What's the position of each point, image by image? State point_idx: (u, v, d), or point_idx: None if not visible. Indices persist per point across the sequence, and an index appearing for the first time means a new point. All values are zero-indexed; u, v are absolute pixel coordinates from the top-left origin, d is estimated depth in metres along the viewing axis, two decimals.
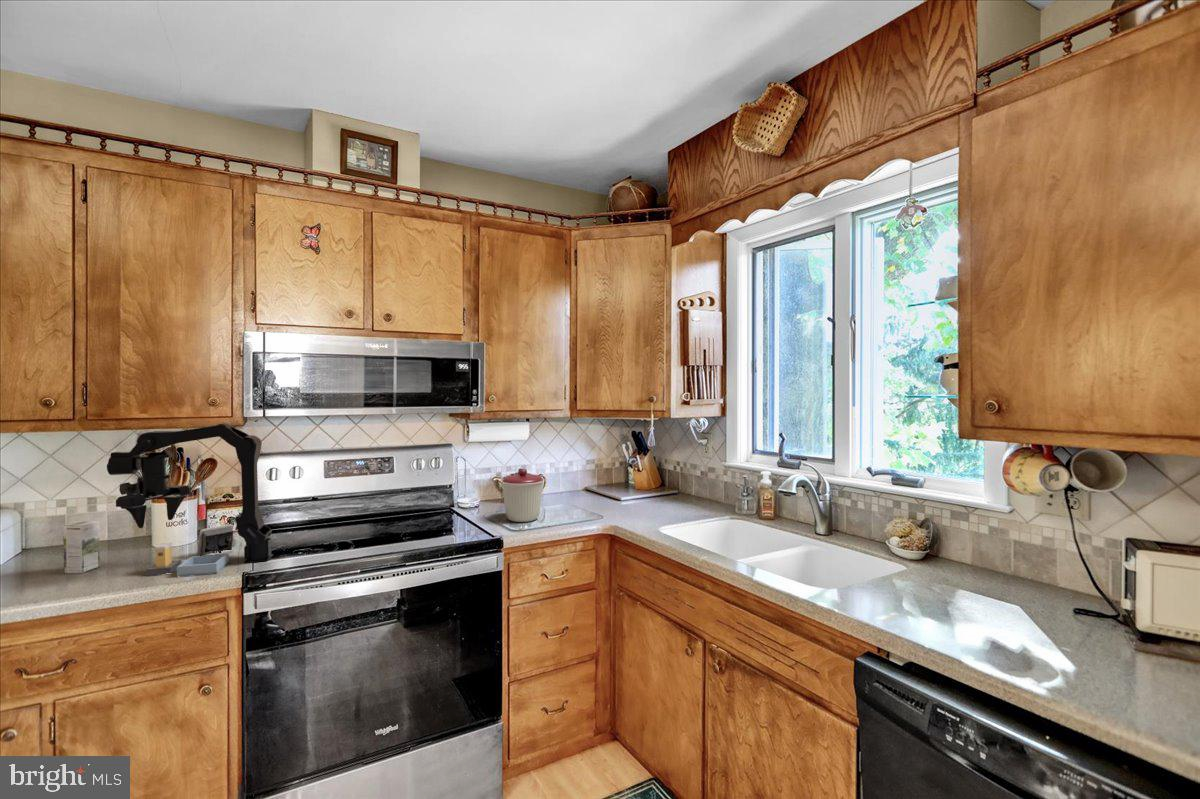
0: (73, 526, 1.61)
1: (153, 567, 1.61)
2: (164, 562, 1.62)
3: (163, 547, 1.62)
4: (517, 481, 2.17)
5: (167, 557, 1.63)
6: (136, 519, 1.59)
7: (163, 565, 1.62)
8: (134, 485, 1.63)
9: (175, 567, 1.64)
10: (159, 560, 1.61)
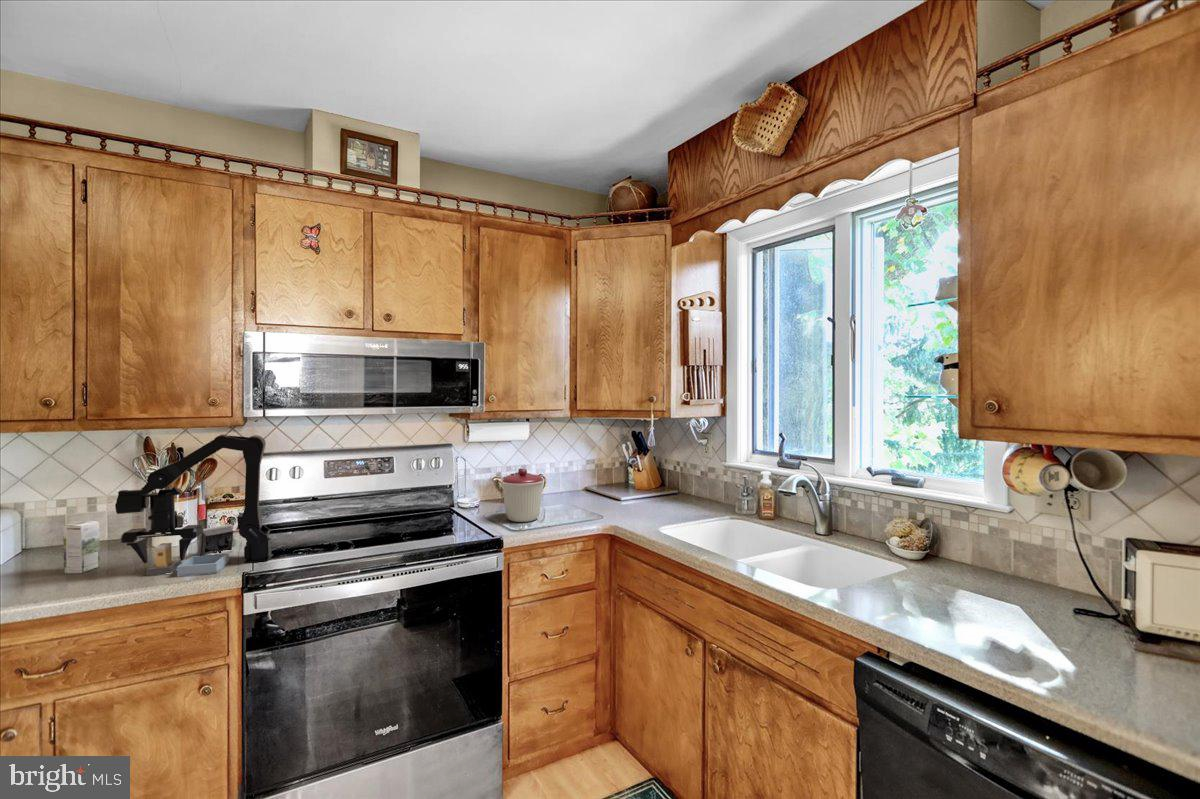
0: (73, 526, 1.61)
1: (153, 567, 1.61)
2: (164, 562, 1.62)
3: (163, 547, 1.62)
4: (517, 481, 2.17)
5: (167, 557, 1.63)
6: None
7: (163, 565, 1.62)
8: None
9: (175, 567, 1.64)
10: (159, 560, 1.61)
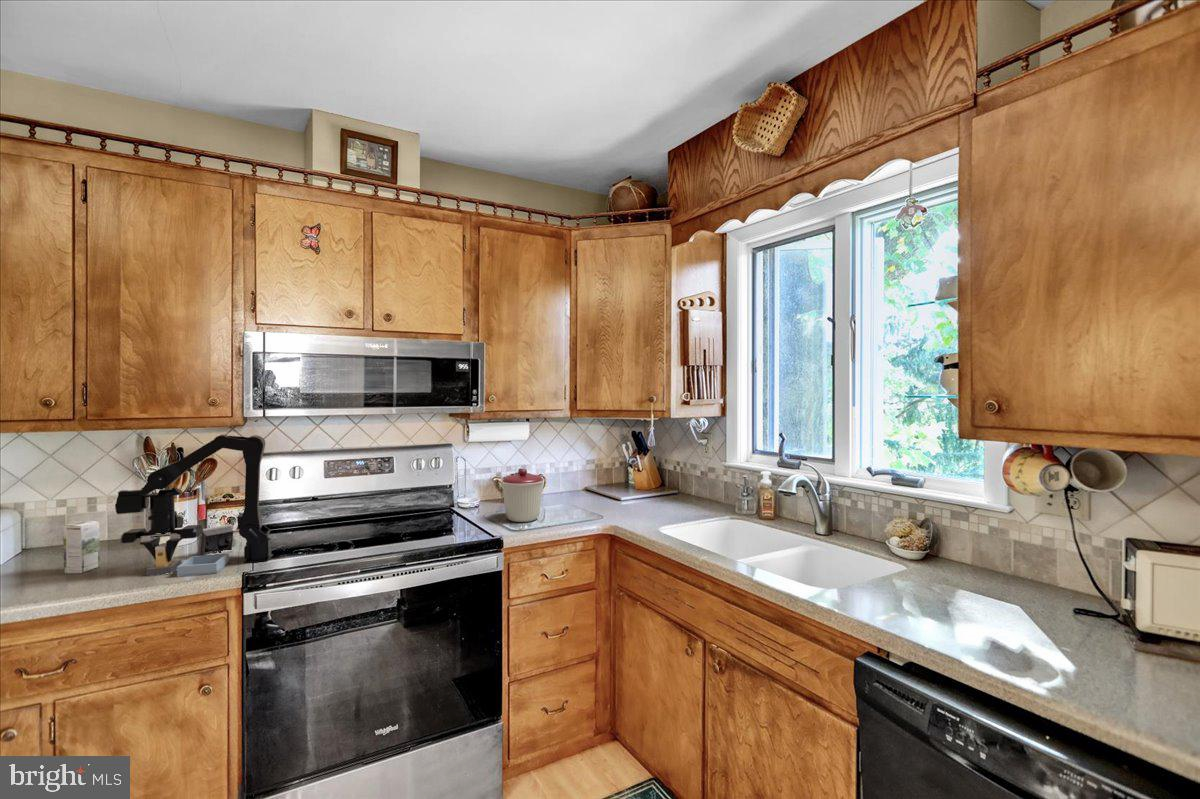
0: (73, 526, 1.61)
1: (153, 567, 1.61)
2: (164, 562, 1.62)
3: (163, 547, 1.62)
4: (517, 481, 2.17)
5: None
6: None
7: (163, 565, 1.62)
8: None
9: (175, 567, 1.64)
10: (159, 560, 1.61)
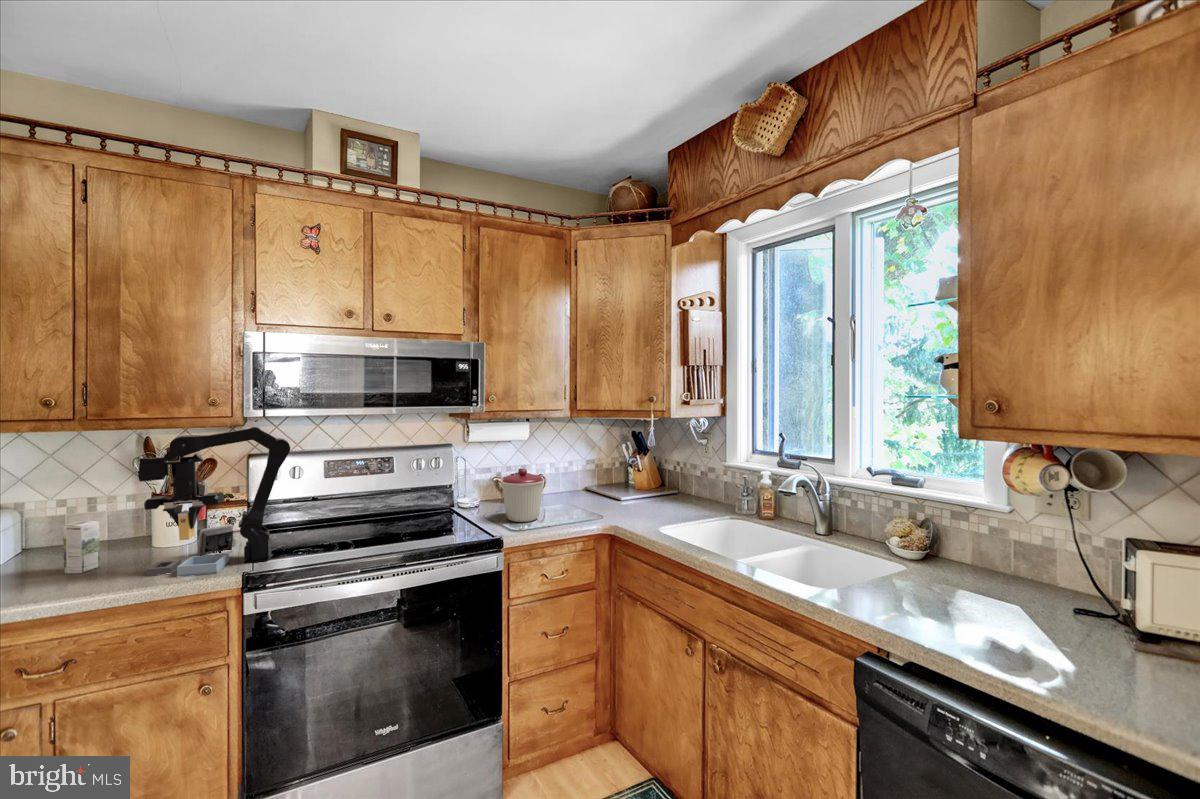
0: (73, 526, 1.61)
1: (153, 567, 1.61)
2: (187, 529, 1.62)
3: (186, 514, 1.62)
4: (517, 481, 2.17)
5: None
6: None
7: (186, 532, 1.62)
8: None
9: (175, 567, 1.64)
10: (182, 526, 1.62)
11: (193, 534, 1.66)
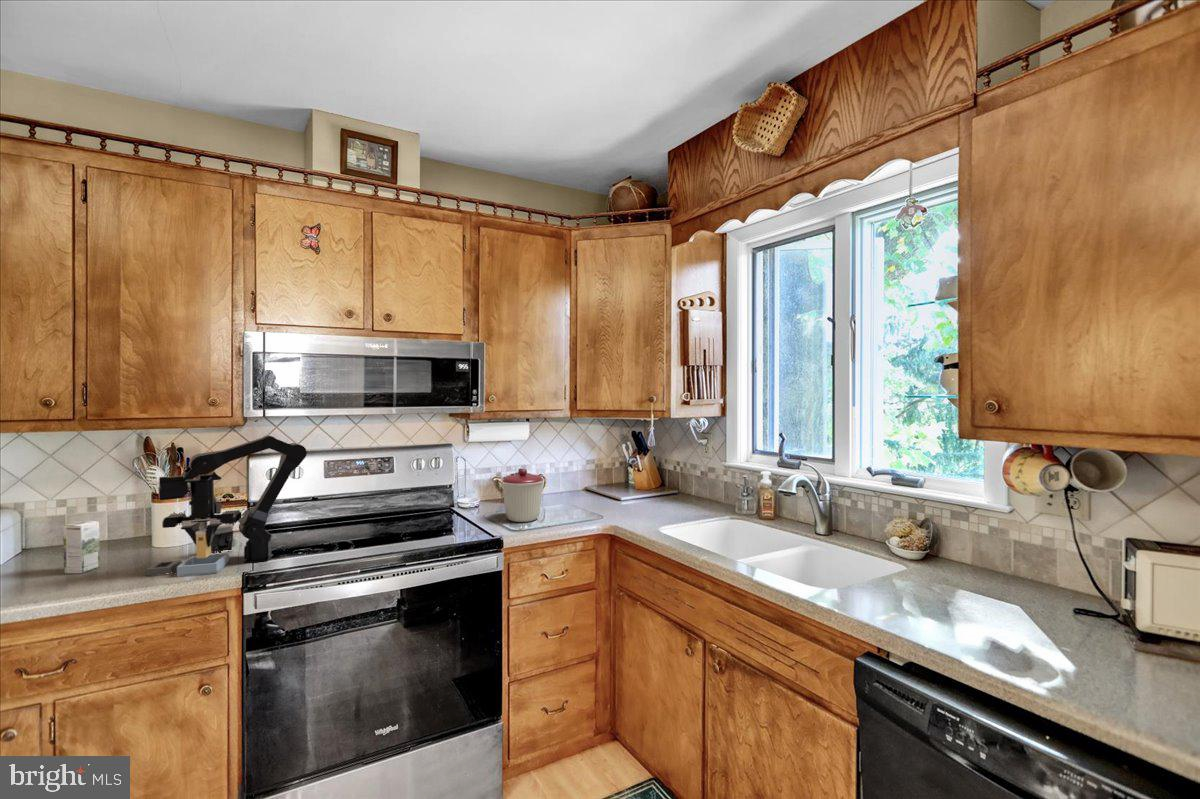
0: (73, 526, 1.61)
1: (153, 567, 1.61)
2: (204, 547, 1.63)
3: (203, 532, 1.63)
4: (517, 481, 2.17)
5: None
6: None
7: (203, 550, 1.63)
8: None
9: (175, 567, 1.64)
10: (200, 545, 1.63)
11: (210, 552, 1.66)
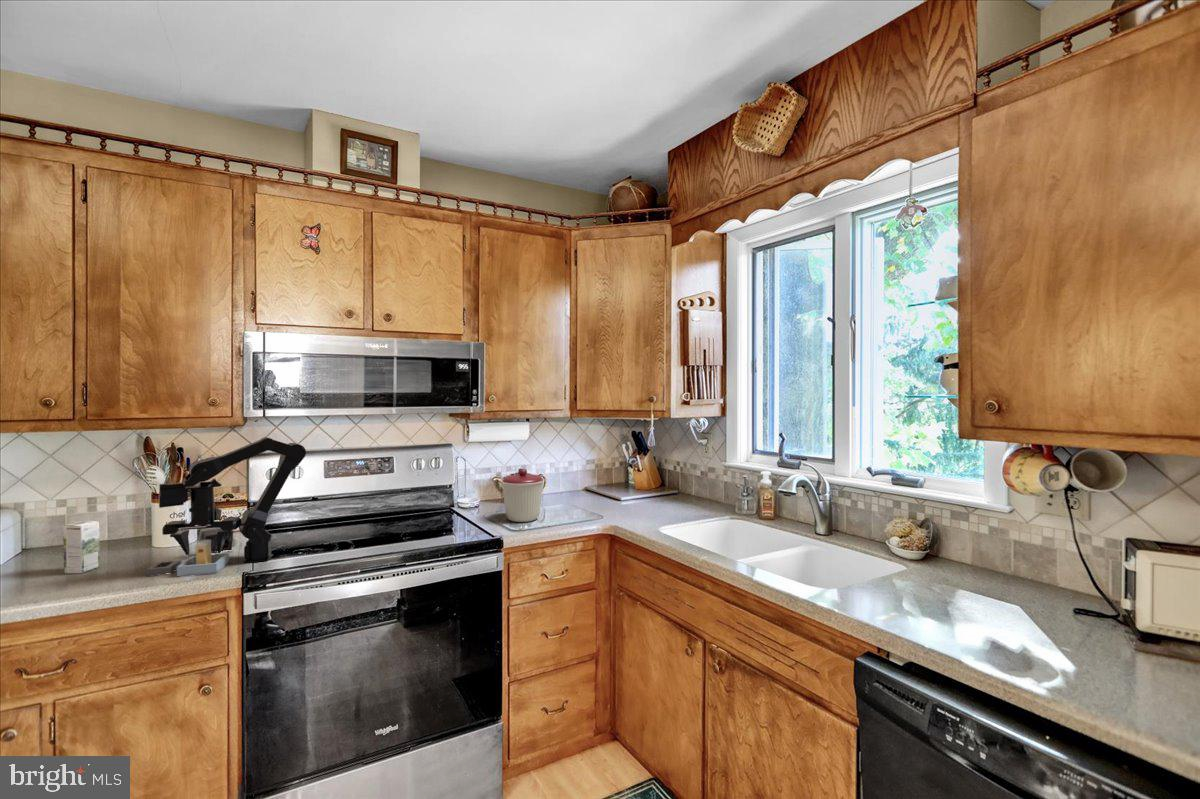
0: (73, 526, 1.61)
1: (153, 567, 1.61)
2: (204, 559, 1.63)
3: (203, 544, 1.63)
4: (517, 481, 2.17)
5: (207, 554, 1.65)
6: None
7: (203, 562, 1.63)
8: None
9: (175, 567, 1.64)
10: (200, 556, 1.63)
11: None
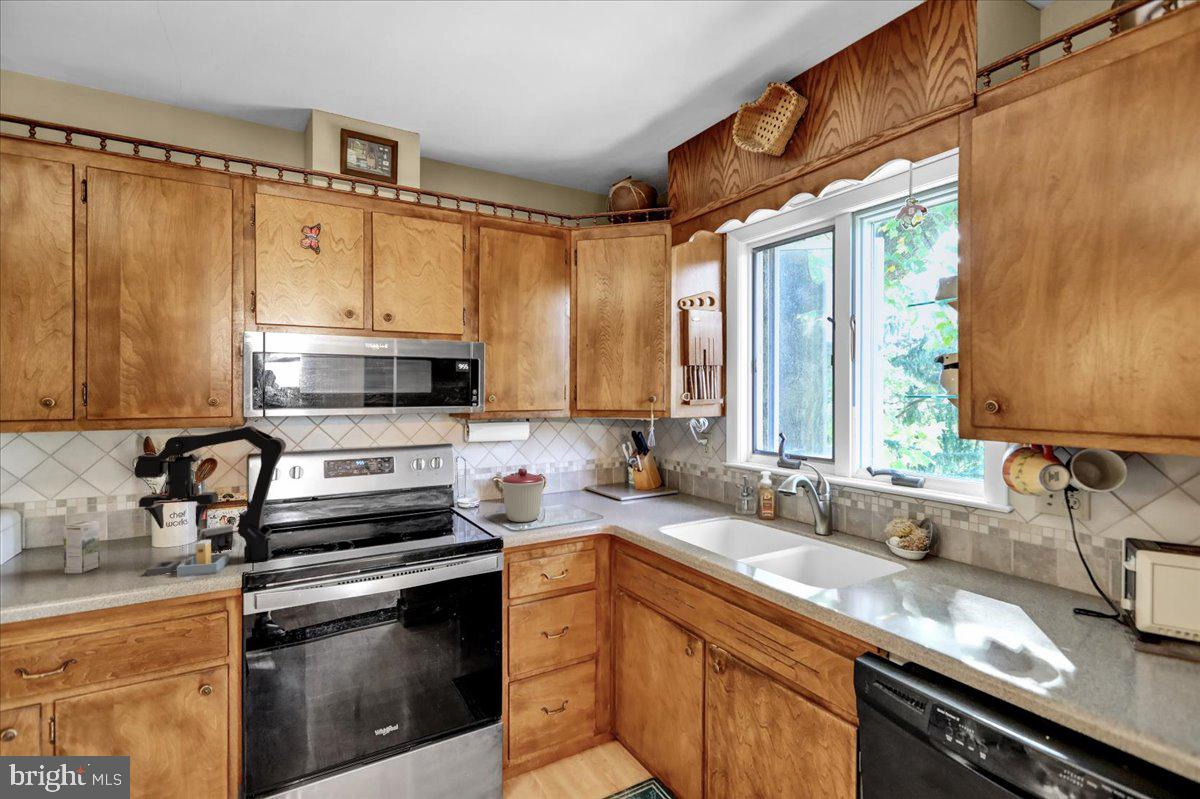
0: (73, 526, 1.61)
1: (153, 567, 1.61)
2: (204, 559, 1.63)
3: (203, 544, 1.63)
4: (517, 481, 2.17)
5: (207, 554, 1.65)
6: None
7: (203, 562, 1.63)
8: None
9: (175, 567, 1.64)
10: (200, 556, 1.63)
11: None
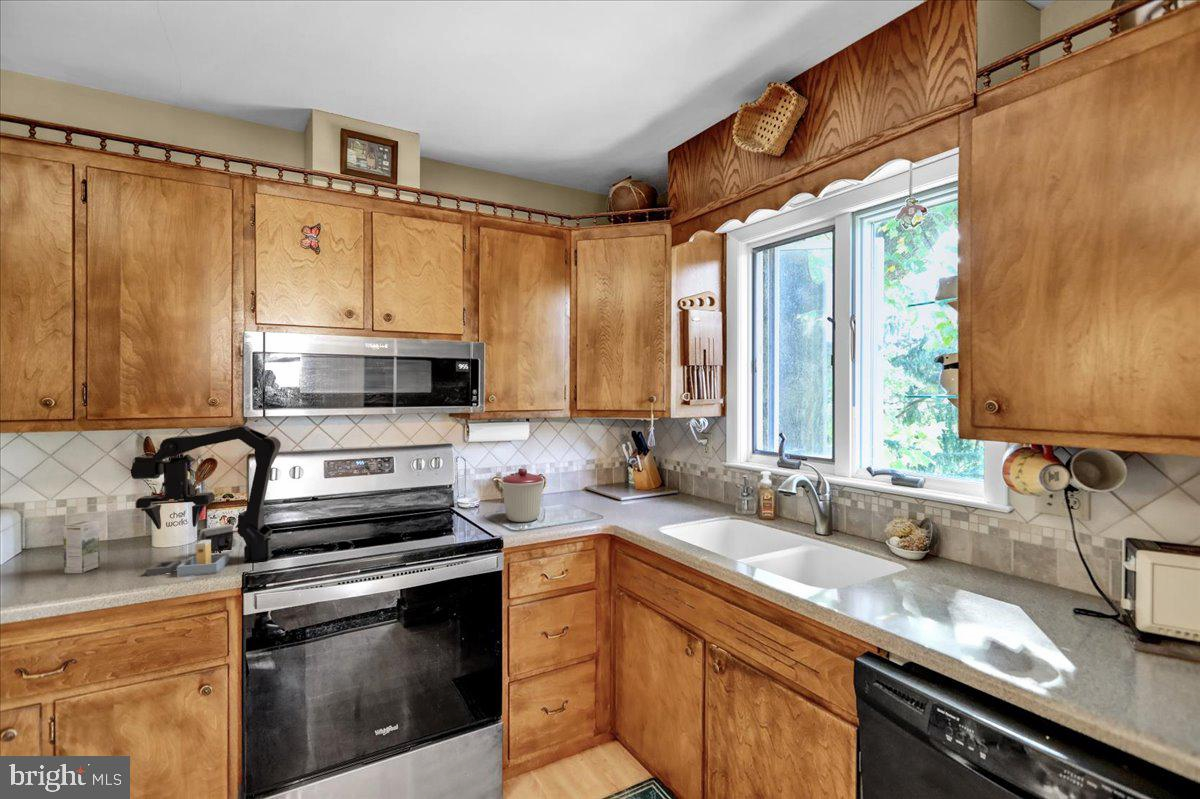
0: (73, 526, 1.61)
1: (153, 567, 1.61)
2: (204, 559, 1.63)
3: (203, 544, 1.63)
4: (517, 481, 2.17)
5: (207, 554, 1.65)
6: None
7: (203, 562, 1.63)
8: None
9: (175, 567, 1.64)
10: (200, 556, 1.63)
11: None
